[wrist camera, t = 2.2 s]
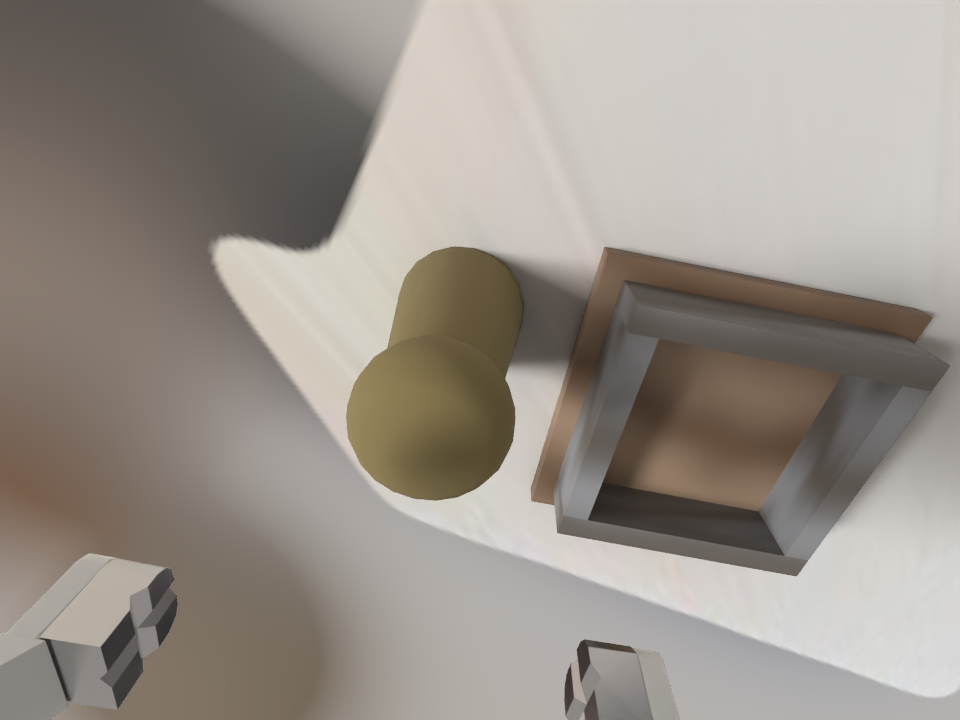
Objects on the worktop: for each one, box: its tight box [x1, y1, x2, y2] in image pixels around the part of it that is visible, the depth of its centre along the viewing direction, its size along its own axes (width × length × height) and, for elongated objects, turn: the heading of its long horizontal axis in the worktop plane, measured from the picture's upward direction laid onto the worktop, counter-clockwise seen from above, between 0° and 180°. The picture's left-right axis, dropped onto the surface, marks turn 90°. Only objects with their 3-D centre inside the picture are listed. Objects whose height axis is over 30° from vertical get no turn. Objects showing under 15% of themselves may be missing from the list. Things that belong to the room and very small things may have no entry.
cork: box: [346, 247, 524, 500], centre depth 19 cm, size 6×6×11 cm
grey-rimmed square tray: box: [531, 247, 950, 576], centre depth 23 cm, size 14×14×4 cm
